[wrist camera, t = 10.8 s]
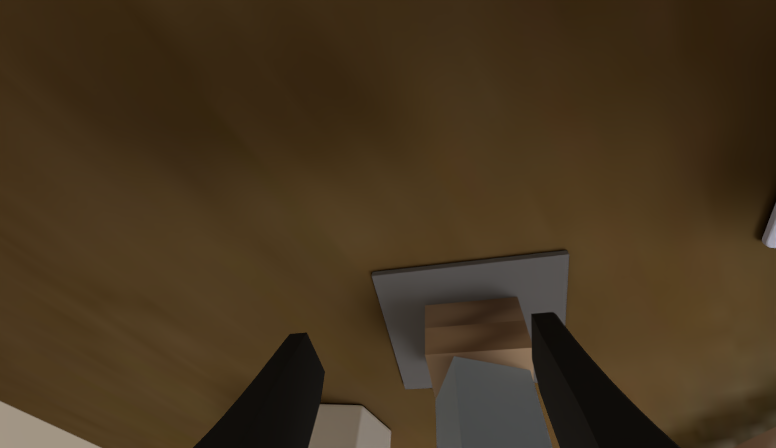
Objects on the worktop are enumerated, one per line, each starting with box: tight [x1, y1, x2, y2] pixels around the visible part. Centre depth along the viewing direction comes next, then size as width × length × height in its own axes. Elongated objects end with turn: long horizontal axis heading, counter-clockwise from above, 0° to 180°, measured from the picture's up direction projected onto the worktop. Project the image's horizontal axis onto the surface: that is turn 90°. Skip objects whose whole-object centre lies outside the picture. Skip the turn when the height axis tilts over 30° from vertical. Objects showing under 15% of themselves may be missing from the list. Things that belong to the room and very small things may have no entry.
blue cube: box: [436, 356, 552, 448], centre depth 20 cm, size 4×4×5 cm
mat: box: [372, 250, 569, 389], centre depth 25 cm, size 12×12×1 cm
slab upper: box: [425, 320, 534, 399], centre depth 23 cm, size 6×6×2 cm
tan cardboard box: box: [425, 297, 525, 328], centre depth 24 cm, size 6×6×2 cm
